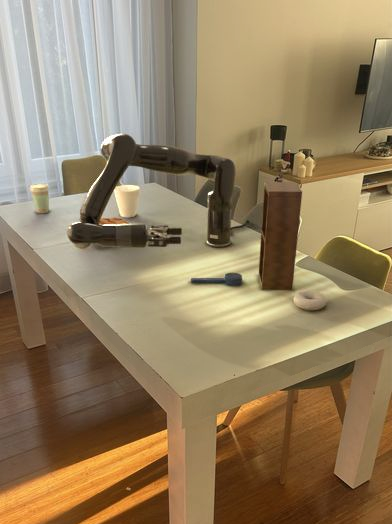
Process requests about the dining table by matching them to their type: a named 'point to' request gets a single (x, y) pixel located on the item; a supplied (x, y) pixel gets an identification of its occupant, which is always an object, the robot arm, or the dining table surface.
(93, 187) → the robot arm
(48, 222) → the dining table surface
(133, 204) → the cup
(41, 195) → the coffee cup
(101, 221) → the cuneiform tablet
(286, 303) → the dining table surface
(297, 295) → the donut
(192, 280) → the blue elongated piece
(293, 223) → the shelf
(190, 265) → the dining table surface
